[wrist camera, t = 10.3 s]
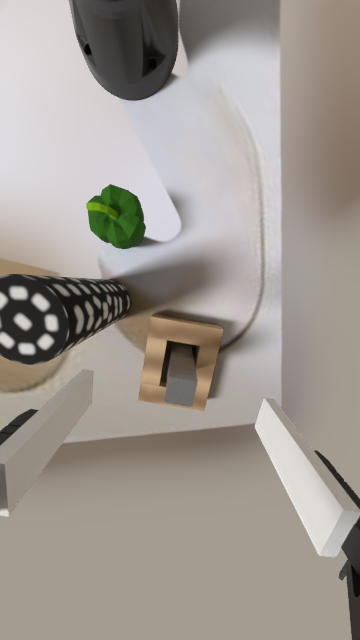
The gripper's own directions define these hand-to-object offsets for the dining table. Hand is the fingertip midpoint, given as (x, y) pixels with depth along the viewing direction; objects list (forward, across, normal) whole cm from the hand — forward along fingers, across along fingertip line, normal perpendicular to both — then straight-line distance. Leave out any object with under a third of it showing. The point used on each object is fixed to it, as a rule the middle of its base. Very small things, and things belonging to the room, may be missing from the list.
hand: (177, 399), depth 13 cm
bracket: (+23, +1, -8) cm, 25 cm away
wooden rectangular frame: (+23, +1, -8) cm, 25 cm away
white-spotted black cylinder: (+24, -15, +2) cm, 28 cm away
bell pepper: (+24, -12, +16) cm, 32 cm away
